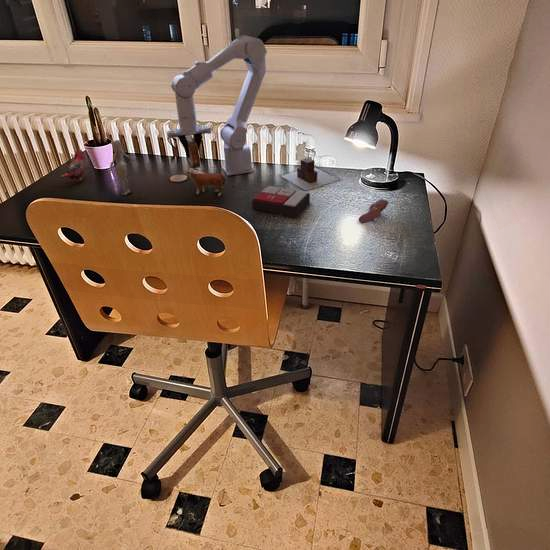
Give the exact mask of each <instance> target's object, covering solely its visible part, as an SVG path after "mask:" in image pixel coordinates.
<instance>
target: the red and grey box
mask: <svg viewBox="0 0 550 550" xmlns="http://www.w3.org/2000/svg"><path fill="white" fill-rule="evenodd" d="M310 197H311V194H310V192H308V191H301V190H296V189H292V188H285V187H278V186H272V185H271V186H270V185H267V186H266V187H265V188H264V189H263V190H262V191H261V192H259V193H258V194H257V195H256V196H255V197H254V198H253V199H251V206H252V209H253V210H257V211H263V212H267V213H273V214H280V215H282V216H284V217H287V218H293V219H296V218H298V217H299V216H300V215H301V214H302V213H303V212H304V211H305V209H307V207H308V206H309V205H310V204H311V198H310Z"/></svg>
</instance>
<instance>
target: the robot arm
mask: <svg viewBox="0 0 550 550" xmlns="http://www.w3.org/2000/svg"><path fill="white" fill-rule="evenodd" d="M267 53H268V50H267V48H266V46H265V43H264V42H263V40H262V39H261V38H258V37H254V36H253V37H252V36H250V35H247V34H242V35H240V36H239V37H238V38H236V39H233V41H231V42H230V43H229V44H228V45H227V46H225V47H224V48H223V49H222V50H221V51H219V52H218V53H217V54H215V55H214V56H213V57H211V58H210V59H208V60H207V61H205V60H200V61H199V60H196V61H194V65H193V66H192V67H190V68H189V69H187V70H183V71H182V74H178V75H175V77H174V78H173V79H172V81H171V85H170V86H171V89H172V91H173V92H174V95H175V105H176V112H177V117H178V125H179V128H176V129H172V130H167V131H166V137H167V139H172V138H173V139H174V138H178V140H179V142H180V144H181V146H182V147H183V149H184V152H185V155H186V158H187V159H188V158H190V157H189V151H188V144H187V139H186V137H187V136H192V137H193V139H194V140H195V142H196V144H197V147H198V151H199V152H200V148H201V144H202V141H203V135H206V134H207V135H211V134H212V127H211V126H209V125H208V126H198V121H197V114H196V105H195V99H194V94H195V92H196V90H197V89H199V88H200V87H202V85H204V84H206V83H208V82H209V81H210V80H211V79H212V78H213V76H214V72H216V71H217V70H219V69H221V68H222V67H224V66H225V65H226V64H228V63H230V62H231V61H233V60H235V59H236V60H237V59H238V60H243V61H244V63H245V66H246V68H247V74H246V77H245V79H244V82H243V85H242V88H241V90H240V93H239V95H238V98H237V101H236V103H235V106H234V109H233V111H232V112H233V113H232V115H231V117H229V118H228V119H227V120H226V123H225V124H224V125H223V126H222V127H221V129H220V133H219V135H220V138H221V140H222V141H223V155H224V165H225V166H222V170H223V171H224V172H225V174H226V176H234V175H242V174H248V173H253V165H252V164H253V163H252V162H253V161H252V151H251V148H250V146H249V144H246V143H247V134H248V127H247V122H248V119H249V117H250V114H251V111H252V109H253V106H254V104H255V102H256V98H257V96H258V93H259V91H260V88H261V85H262V82H263V80H264V78H265V75H266V72H267V65H266V64H267V63H266V62H267V61H266V55H267Z"/></svg>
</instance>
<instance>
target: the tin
mask: <svg viewBox="0 0 550 550" xmlns="http://www.w3.org/2000/svg"><path fill="white" fill-rule="evenodd" d="M186 139H187V144H188V151H189V157H190V158H187V160H188V162H189V165H190V168H193V169H199V168H201V157H200V150H199V151H198V147H197V144H196V142H195V140H194V138H193V135H190V136H186Z"/></svg>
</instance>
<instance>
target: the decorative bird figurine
mask: <svg viewBox="0 0 550 550" xmlns="http://www.w3.org/2000/svg"><path fill="white" fill-rule="evenodd" d="M85 168H86V163H85V154H84V152H83V150H82V149H81V148H78V149H76V151H75V152H74V157H73V159H72V161H71V163H70V165H69V167H68V169H67V171H66V173H64V174H62V175H60V176H59V178H60V179H61V178H69V179H70V180H74V179H75V180H77V182H76V184H78V183H80V182H82V181H83V179H84V178H85V176H83V175H84V173H85Z"/></svg>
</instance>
